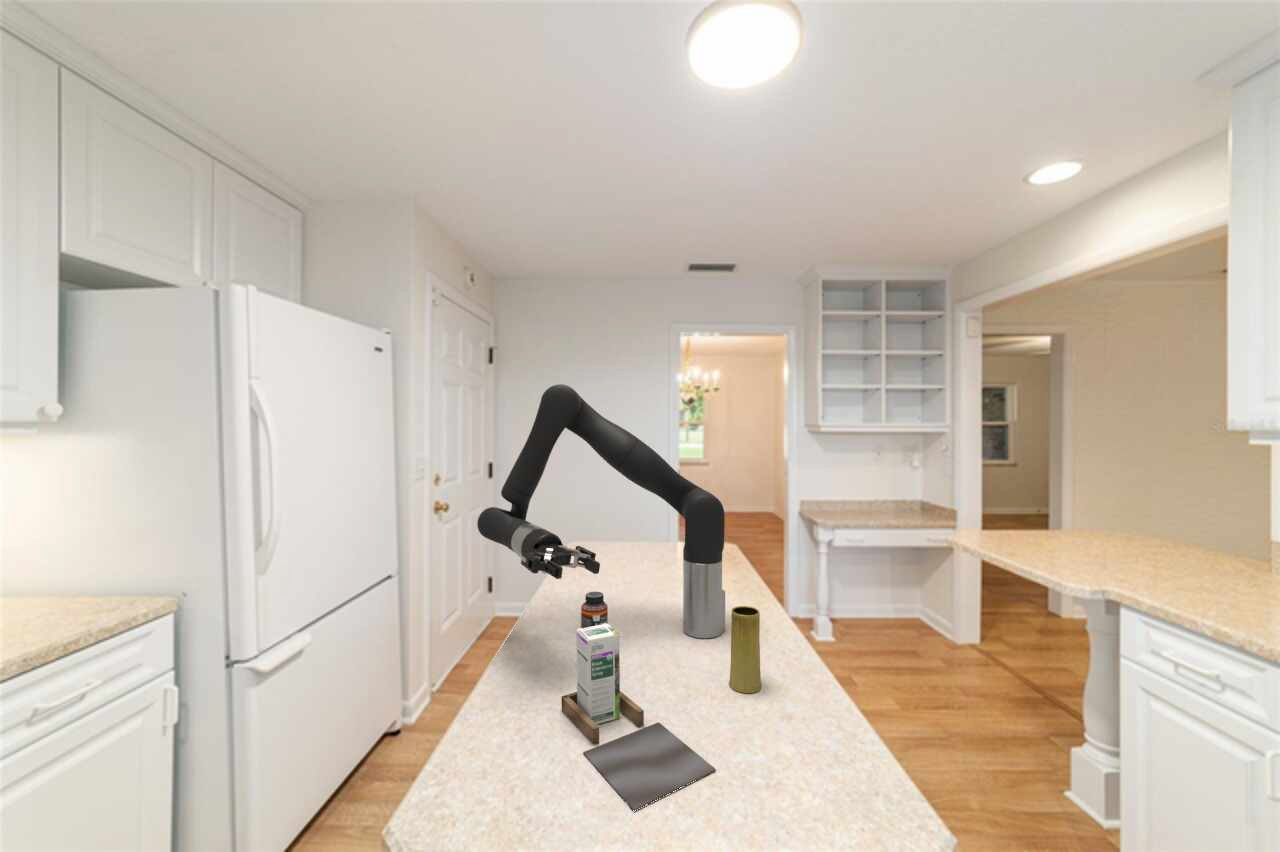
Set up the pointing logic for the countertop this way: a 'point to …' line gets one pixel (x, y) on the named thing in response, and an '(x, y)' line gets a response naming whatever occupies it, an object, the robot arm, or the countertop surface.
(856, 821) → the countertop surface
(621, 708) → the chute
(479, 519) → the robot arm
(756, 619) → the vase
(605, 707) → the syrup box
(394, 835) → the countertop surface
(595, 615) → the supplement bottle
